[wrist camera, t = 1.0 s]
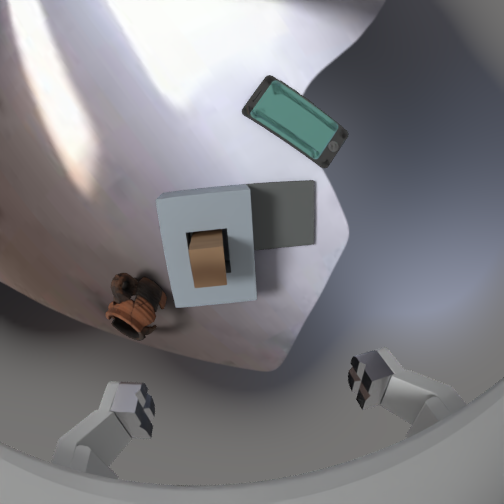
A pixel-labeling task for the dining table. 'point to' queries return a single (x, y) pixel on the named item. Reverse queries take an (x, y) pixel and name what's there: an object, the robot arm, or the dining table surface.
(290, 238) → the rubber mat
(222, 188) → the pocket holder
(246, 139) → the dining table surface
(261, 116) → the smartphone
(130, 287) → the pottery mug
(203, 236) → the walnut block
